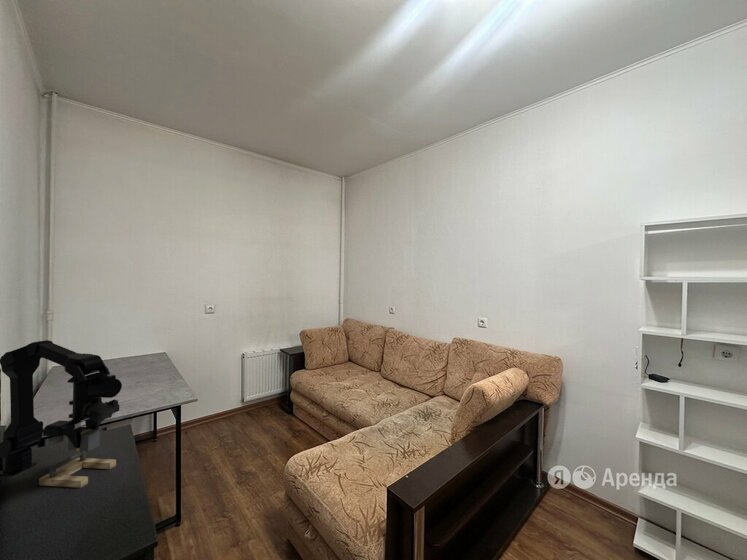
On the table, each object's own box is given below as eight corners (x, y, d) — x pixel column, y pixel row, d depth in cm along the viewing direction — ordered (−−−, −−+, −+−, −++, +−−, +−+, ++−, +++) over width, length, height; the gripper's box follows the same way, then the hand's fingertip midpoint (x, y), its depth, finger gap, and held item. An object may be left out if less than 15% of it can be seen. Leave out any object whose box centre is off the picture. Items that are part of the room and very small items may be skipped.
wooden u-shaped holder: (39, 485, 90) (39, 467, 90) (78, 463, 101) (78, 448, 101) (80, 487, 89) (81, 470, 89) (115, 465, 100) (116, 450, 100)
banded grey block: (87, 451, 93) (88, 435, 93) (67, 450, 93) (68, 434, 94) (99, 445, 96) (100, 429, 97) (80, 444, 97) (80, 428, 97)
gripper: (76, 408, 85) (75, 463, 85) (134, 386, 104) (133, 431, 104) (42, 407, 86) (40, 461, 86) (105, 385, 105) (104, 430, 105)
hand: (84, 444), depth 95 cm, fingers closed on banded grey block, 4 cm apart
